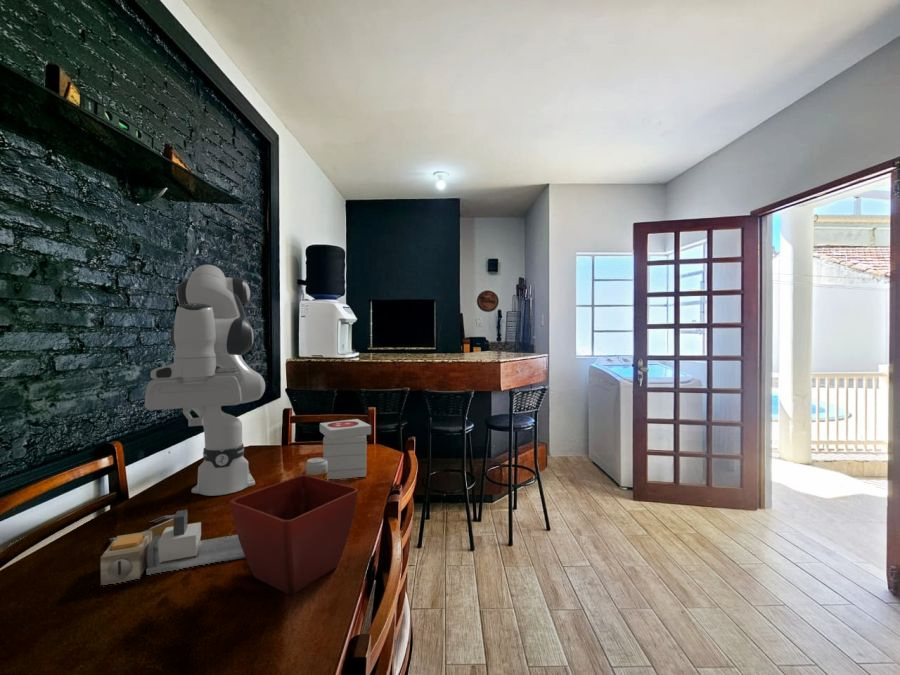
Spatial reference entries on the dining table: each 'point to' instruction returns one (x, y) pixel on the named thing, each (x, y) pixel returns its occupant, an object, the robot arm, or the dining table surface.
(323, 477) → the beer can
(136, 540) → the orange cube
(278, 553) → the plant pot
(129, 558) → the box
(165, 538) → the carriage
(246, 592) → the dining table surface
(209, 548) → the rail
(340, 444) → the pizza boxes
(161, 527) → the sunglasses
